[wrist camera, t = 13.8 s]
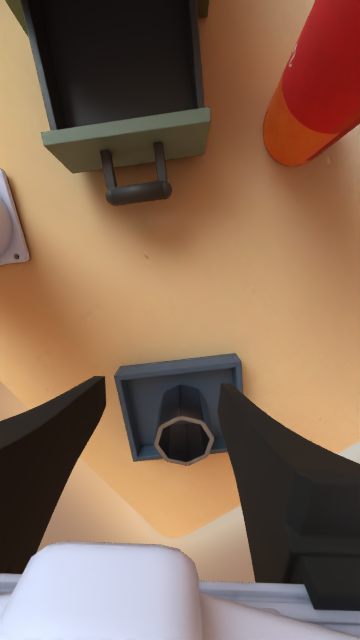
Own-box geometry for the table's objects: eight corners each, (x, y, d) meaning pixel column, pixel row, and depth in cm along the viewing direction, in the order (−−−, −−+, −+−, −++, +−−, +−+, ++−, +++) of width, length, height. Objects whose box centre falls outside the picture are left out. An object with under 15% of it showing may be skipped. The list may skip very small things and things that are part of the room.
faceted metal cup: (156, 418, 22) (149, 458, 17) (167, 380, 21) (163, 412, 16) (197, 427, 23) (202, 469, 18) (210, 391, 21) (219, 425, 17)
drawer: (83, 219, 17) (58, 204, 13) (34, 1, 14) (-16, -95, 10) (207, 202, 17) (215, 182, 13) (189, -25, 13) (193, -133, 10)
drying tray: (137, 446, 24) (133, 462, 22) (120, 366, 21) (113, 376, 19) (240, 435, 23) (246, 450, 21) (235, 353, 21) (241, 361, 19)
